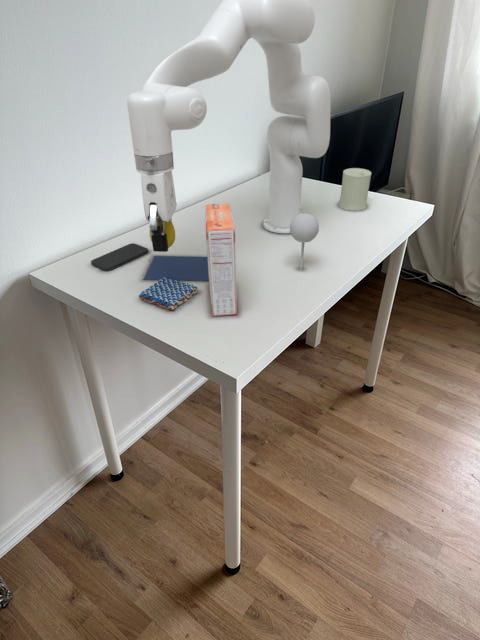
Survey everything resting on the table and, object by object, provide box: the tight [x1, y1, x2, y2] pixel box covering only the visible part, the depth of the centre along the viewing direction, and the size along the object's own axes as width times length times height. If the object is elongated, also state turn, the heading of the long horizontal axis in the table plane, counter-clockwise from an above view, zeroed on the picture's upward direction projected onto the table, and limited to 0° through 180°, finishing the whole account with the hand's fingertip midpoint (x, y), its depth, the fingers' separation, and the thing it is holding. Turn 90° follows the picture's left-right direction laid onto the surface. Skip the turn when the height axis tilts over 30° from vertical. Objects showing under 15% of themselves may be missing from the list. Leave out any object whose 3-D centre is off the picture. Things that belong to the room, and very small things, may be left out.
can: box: [338, 167, 372, 212], centre depth 151 cm, size 9×9×12 cm
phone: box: [90, 243, 149, 272], centre depth 123 cm, size 7×1×15 cm
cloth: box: [142, 255, 209, 282], centre depth 118 cm, size 18×13×1 cm
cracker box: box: [204, 203, 238, 317], centre depth 100 cm, size 14×6×21 cm, turn 5°
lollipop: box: [290, 212, 320, 270], centre depth 113 cm, size 7×7×15 cm
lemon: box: [149, 217, 176, 249], centre depth 98 cm, size 6×6×8 cm
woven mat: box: [138, 276, 198, 311], centre depth 107 cm, size 10×11×2 cm
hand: (163, 243), depth 100 cm, fingers closed on lemon, 5 cm apart
